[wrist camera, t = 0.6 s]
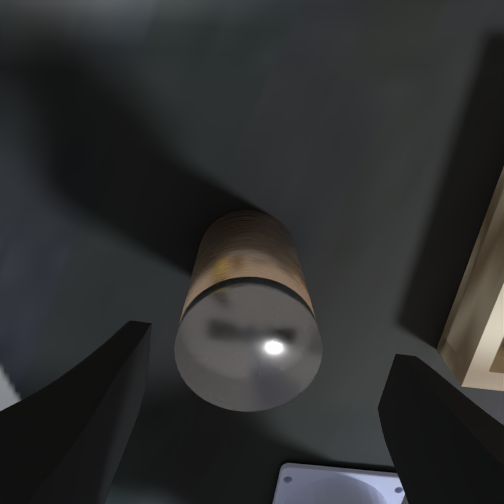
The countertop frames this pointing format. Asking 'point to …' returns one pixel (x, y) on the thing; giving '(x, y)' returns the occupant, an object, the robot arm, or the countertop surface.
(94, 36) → the countertop surface
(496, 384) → the tray
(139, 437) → the countertop surface
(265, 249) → the can
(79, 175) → the countertop surface
